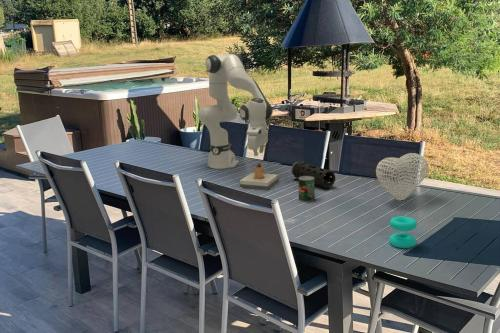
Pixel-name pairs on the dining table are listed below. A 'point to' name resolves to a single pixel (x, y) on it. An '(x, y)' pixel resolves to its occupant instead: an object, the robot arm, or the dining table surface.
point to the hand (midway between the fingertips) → (258, 154)
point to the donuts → (403, 238)
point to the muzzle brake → (314, 174)
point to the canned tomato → (306, 188)
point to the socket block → (259, 181)
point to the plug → (259, 171)
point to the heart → (379, 174)
